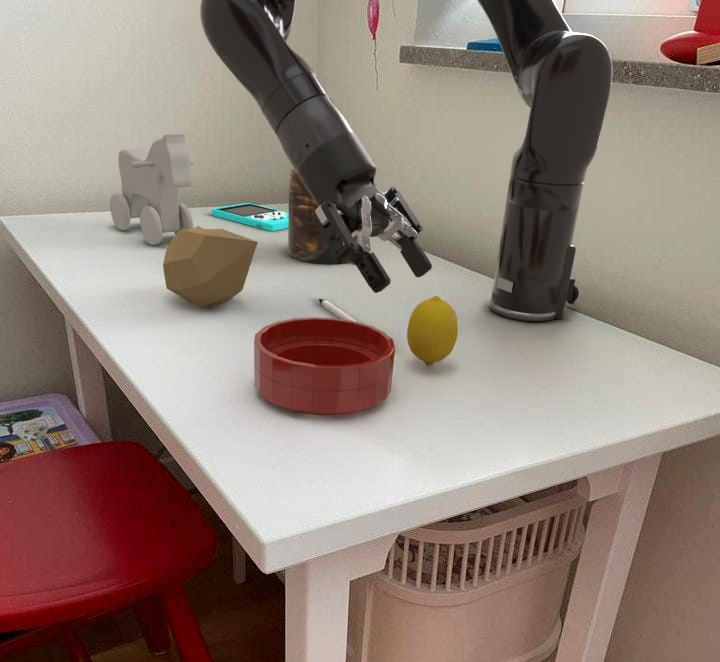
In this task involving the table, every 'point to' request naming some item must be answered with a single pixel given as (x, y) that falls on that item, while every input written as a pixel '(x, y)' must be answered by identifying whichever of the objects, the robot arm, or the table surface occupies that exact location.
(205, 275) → the low-poly potato
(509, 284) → the robot arm
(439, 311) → the lemon
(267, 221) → the handheld game console
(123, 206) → the pony
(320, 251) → the jar
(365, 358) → the bowl
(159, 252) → the table surface
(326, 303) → the pen
